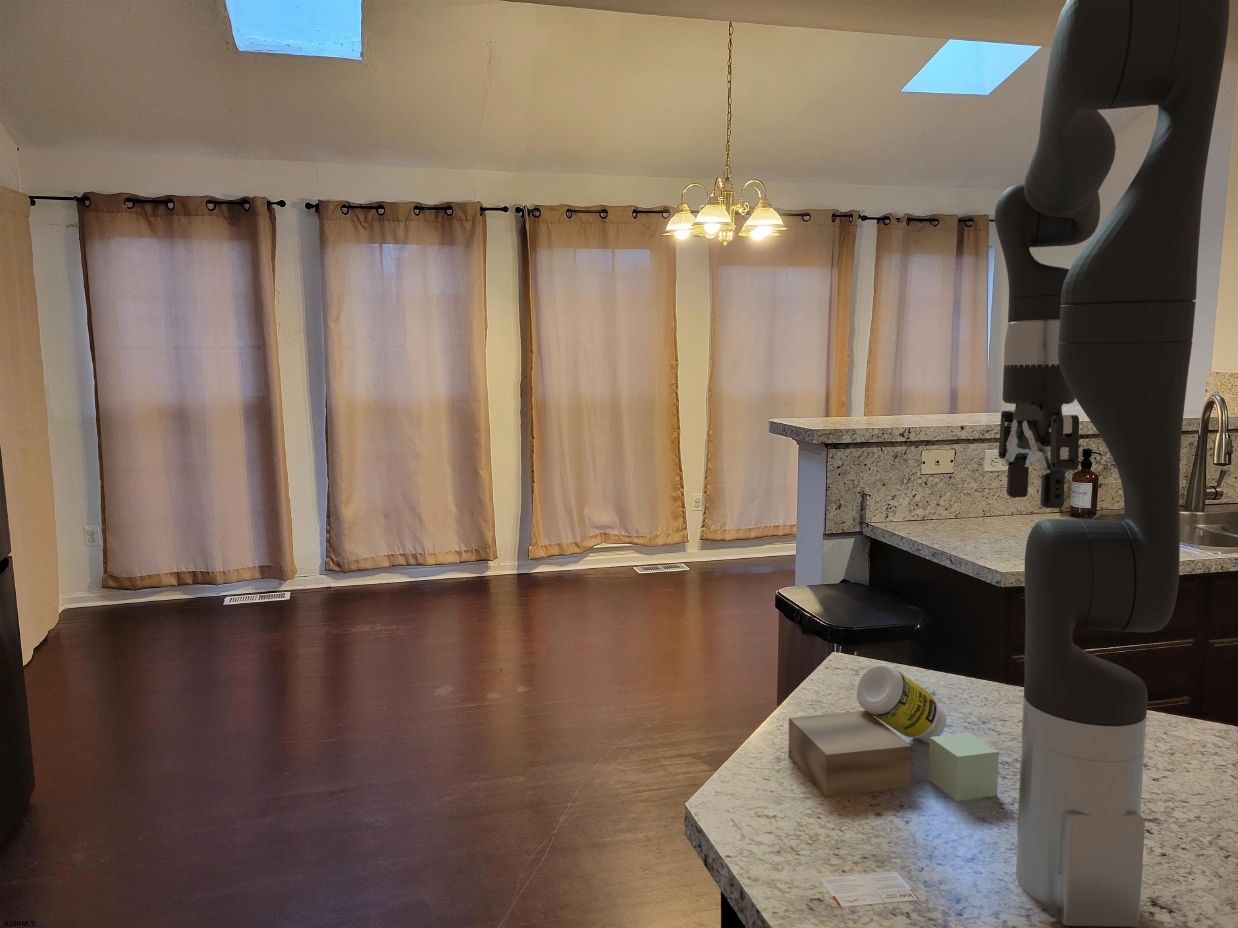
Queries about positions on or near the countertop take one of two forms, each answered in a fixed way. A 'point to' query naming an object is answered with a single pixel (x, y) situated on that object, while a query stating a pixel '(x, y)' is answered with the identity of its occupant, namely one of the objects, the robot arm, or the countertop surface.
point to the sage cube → (963, 766)
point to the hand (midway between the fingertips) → (1033, 502)
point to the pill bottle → (900, 703)
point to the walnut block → (849, 753)
